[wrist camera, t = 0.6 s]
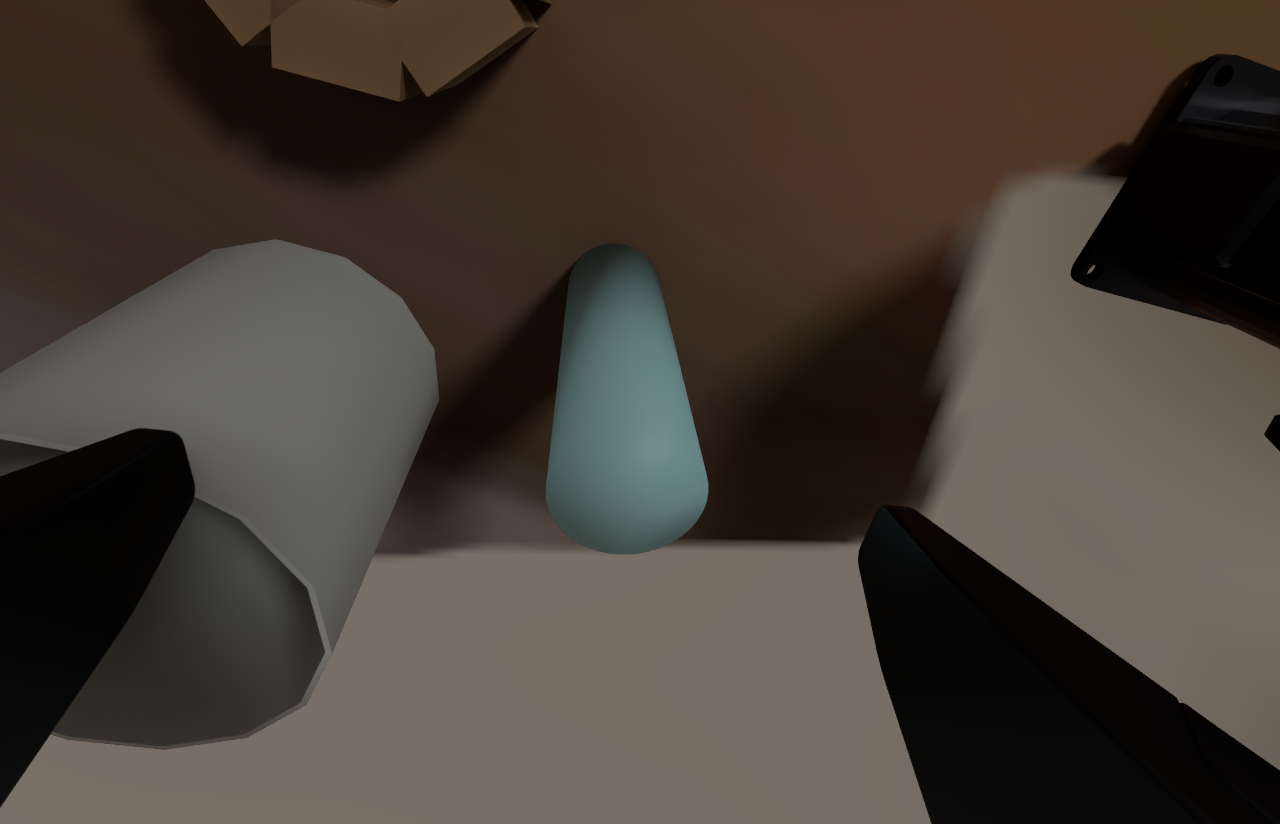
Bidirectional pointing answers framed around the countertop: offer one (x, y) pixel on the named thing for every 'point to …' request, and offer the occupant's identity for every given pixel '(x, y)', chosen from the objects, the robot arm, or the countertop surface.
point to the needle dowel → (621, 413)
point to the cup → (237, 475)
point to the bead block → (380, 39)
